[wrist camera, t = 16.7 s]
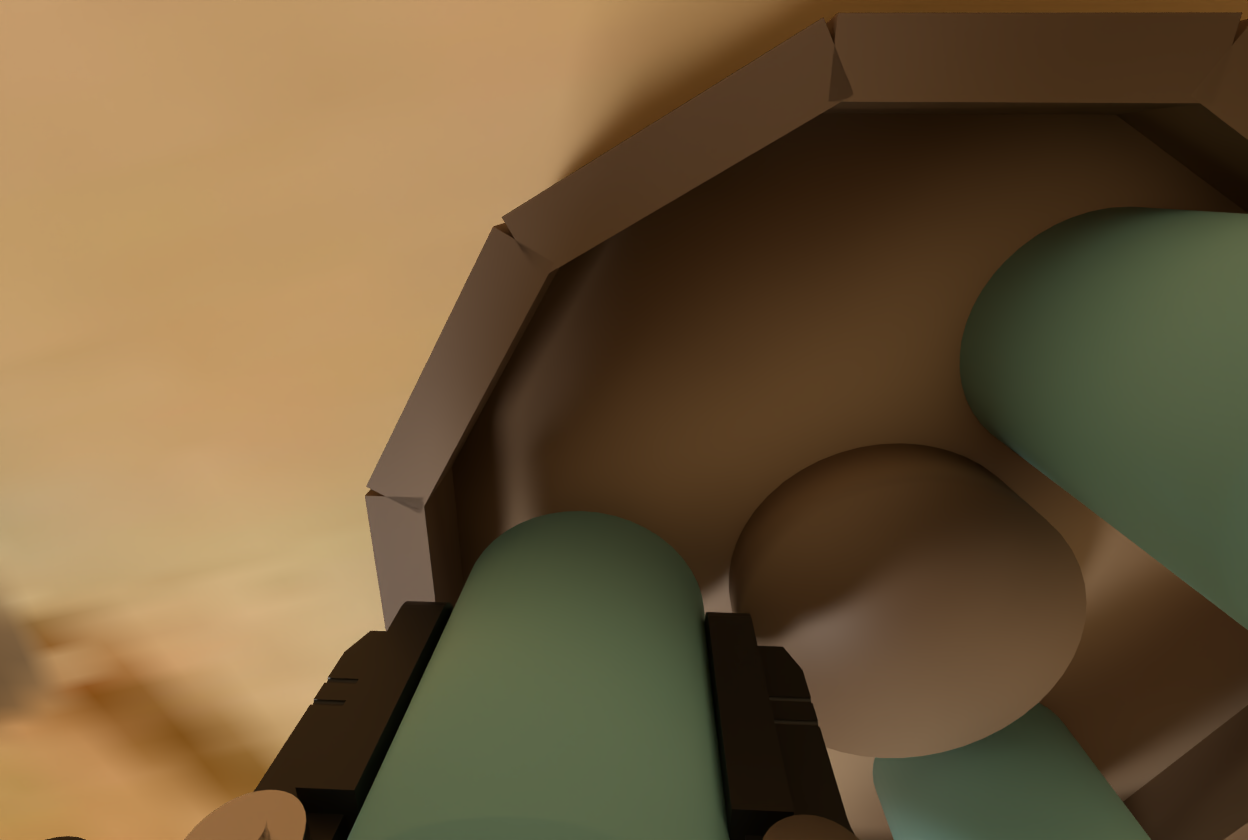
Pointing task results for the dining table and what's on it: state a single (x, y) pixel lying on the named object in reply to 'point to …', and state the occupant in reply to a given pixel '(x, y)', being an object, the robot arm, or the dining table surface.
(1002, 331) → the bead
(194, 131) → the dining table surface
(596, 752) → the bead
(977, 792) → the bead
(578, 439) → the ring tray
